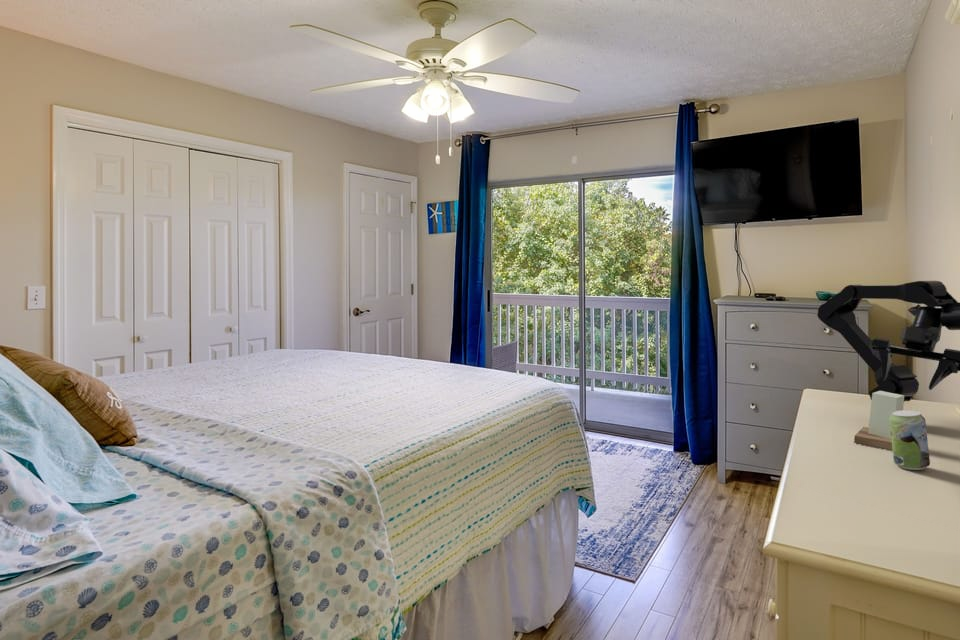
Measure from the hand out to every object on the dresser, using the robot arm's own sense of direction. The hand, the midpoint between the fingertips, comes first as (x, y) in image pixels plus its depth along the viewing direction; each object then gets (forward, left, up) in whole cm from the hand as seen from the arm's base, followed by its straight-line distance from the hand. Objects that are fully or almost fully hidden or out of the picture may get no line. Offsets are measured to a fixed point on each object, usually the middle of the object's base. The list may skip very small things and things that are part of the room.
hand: (906, 384), depth 134 cm
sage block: (+8, -2, -12) cm, 14 cm away
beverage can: (+23, +5, -14) cm, 27 cm away
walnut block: (+8, -2, -14) cm, 16 cm away
